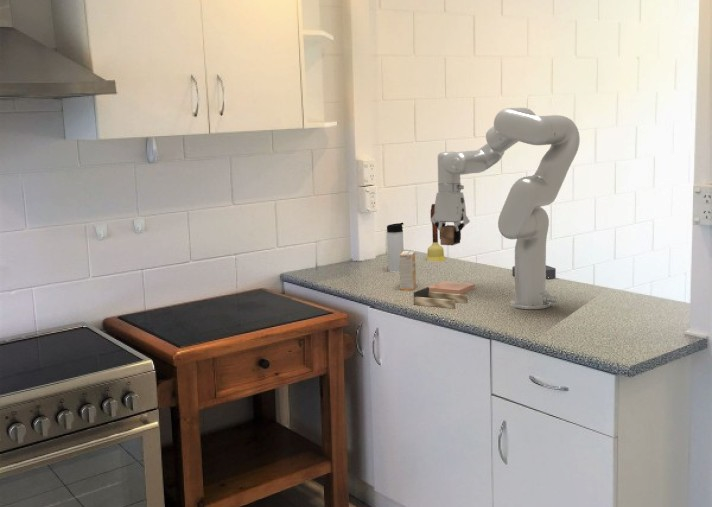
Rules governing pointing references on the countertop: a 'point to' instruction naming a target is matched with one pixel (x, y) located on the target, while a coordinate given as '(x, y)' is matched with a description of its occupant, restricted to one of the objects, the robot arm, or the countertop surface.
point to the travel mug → (394, 245)
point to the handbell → (435, 243)
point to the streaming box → (549, 272)
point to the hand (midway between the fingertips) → (450, 241)
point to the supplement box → (407, 270)
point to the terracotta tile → (452, 287)
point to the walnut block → (447, 235)
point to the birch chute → (438, 298)
